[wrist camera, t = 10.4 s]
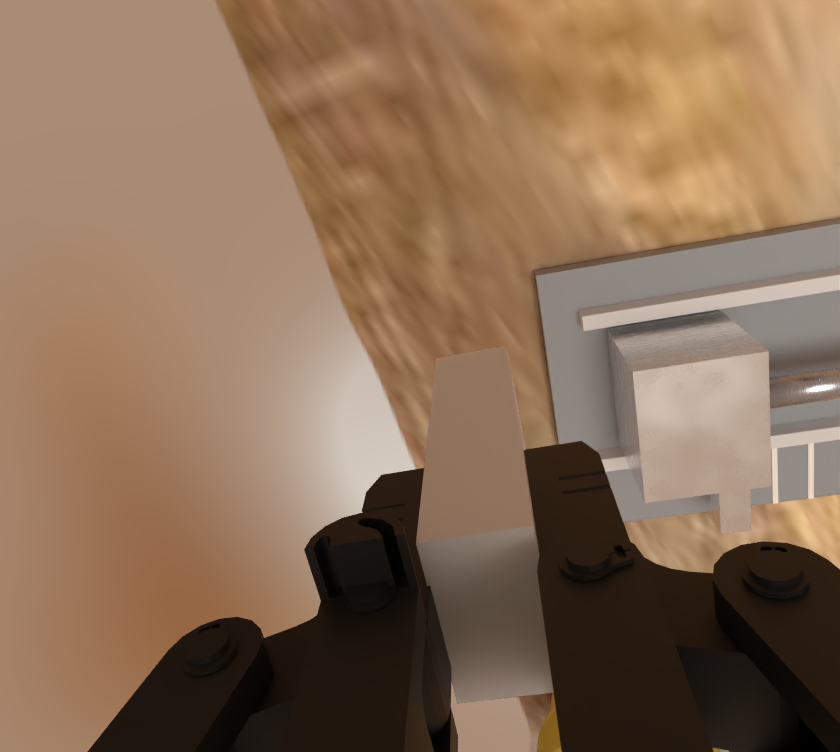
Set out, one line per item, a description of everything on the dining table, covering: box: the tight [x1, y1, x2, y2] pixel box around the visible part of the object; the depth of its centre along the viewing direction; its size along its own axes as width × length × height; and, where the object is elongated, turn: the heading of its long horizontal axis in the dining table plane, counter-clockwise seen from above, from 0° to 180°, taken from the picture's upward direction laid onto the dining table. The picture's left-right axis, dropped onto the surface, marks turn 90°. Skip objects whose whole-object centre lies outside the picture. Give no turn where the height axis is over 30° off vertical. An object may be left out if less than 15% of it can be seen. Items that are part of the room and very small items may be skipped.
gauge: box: [607, 311, 840, 534], centre depth 38 cm, size 12×14×6 cm
